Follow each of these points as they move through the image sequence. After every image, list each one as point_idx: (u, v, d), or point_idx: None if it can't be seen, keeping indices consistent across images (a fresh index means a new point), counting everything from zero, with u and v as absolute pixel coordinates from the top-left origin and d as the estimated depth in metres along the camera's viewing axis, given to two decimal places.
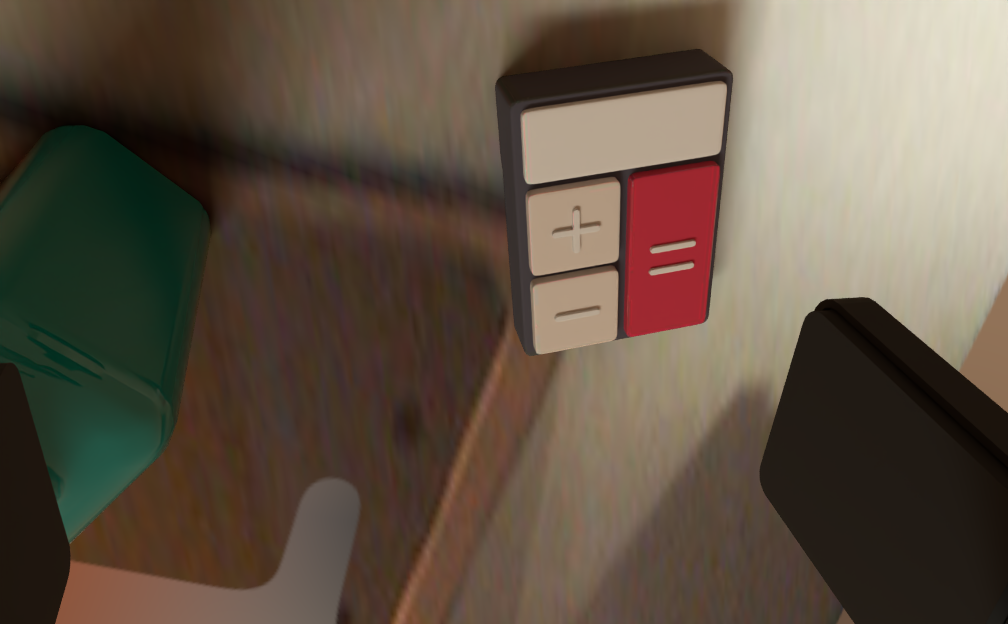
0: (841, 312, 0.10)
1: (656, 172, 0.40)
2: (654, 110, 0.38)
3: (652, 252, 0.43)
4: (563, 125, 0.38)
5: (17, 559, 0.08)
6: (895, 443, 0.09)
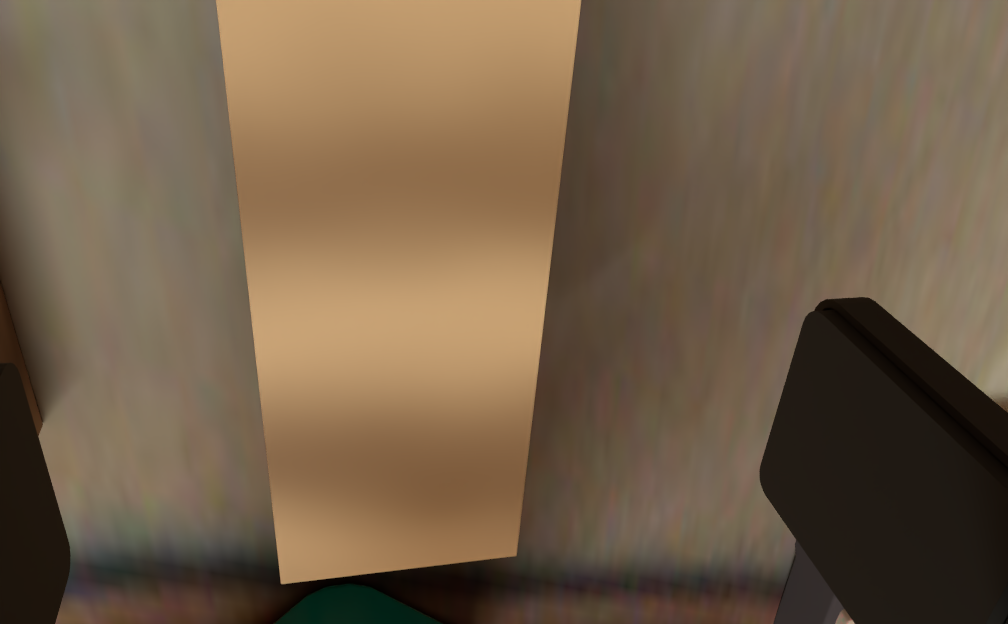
0: (841, 312, 0.10)
1: None
2: None
3: None
4: None
5: (17, 559, 0.08)
6: (895, 443, 0.09)
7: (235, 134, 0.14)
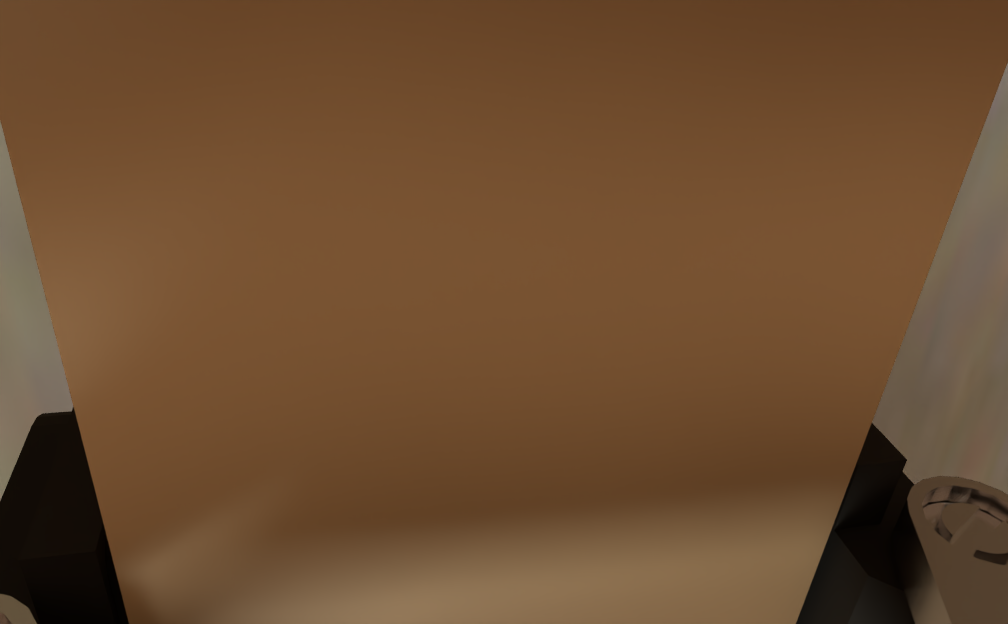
0: None
1: None
2: None
3: None
4: None
5: None
6: None
7: None
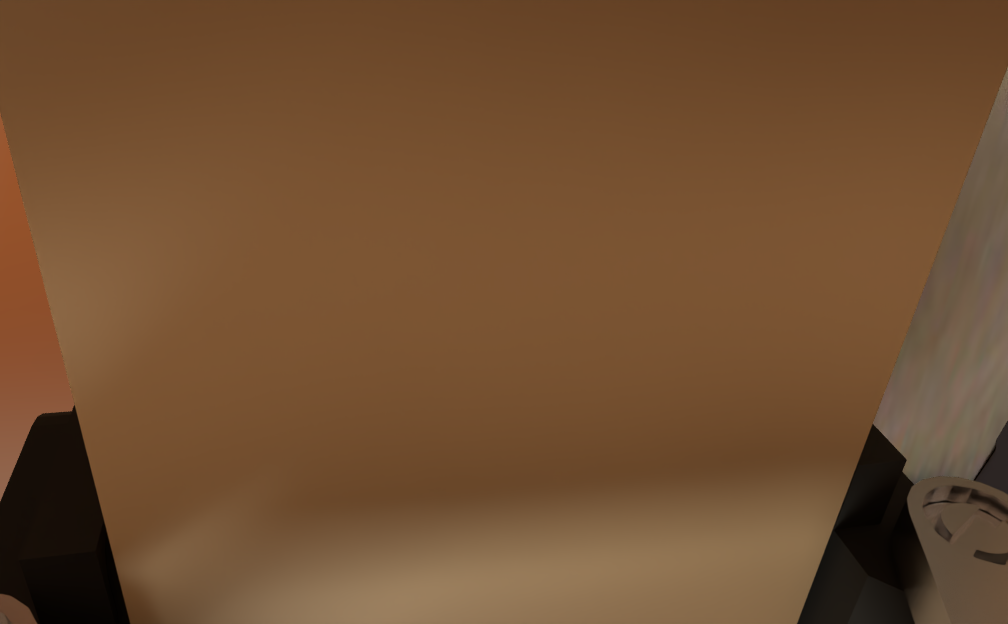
0: None
1: None
2: None
3: None
4: None
5: None
6: None
7: None
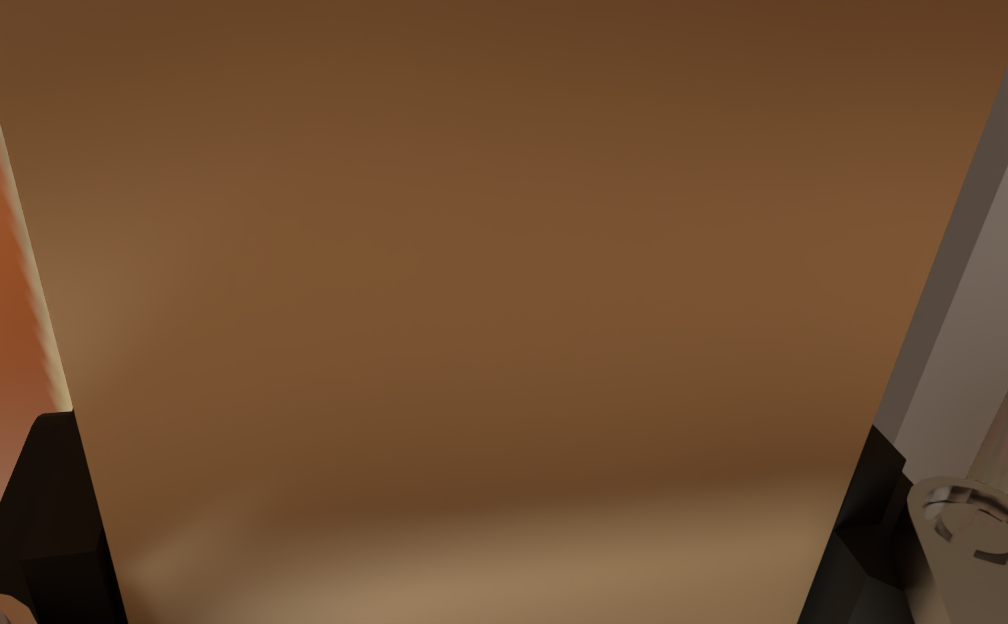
0: None
1: None
2: None
3: None
4: None
5: None
6: None
7: None
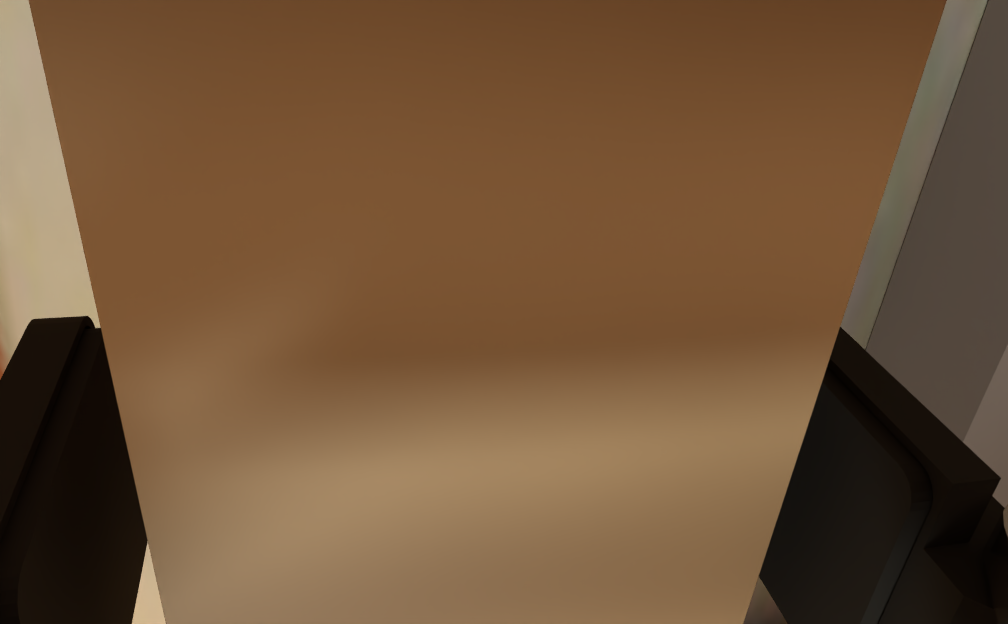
0: None
1: None
2: None
3: None
4: None
5: (116, 509, 0.09)
6: None
7: (163, 571, 0.07)
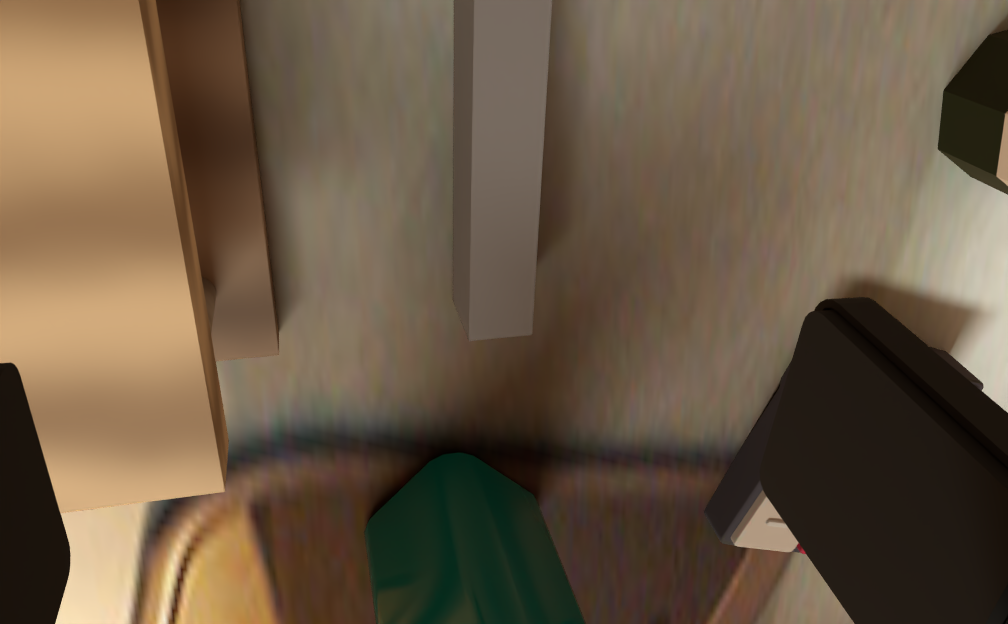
0: (841, 312, 0.10)
1: None
2: None
3: None
4: None
5: (17, 559, 0.08)
6: (895, 443, 0.09)
7: None
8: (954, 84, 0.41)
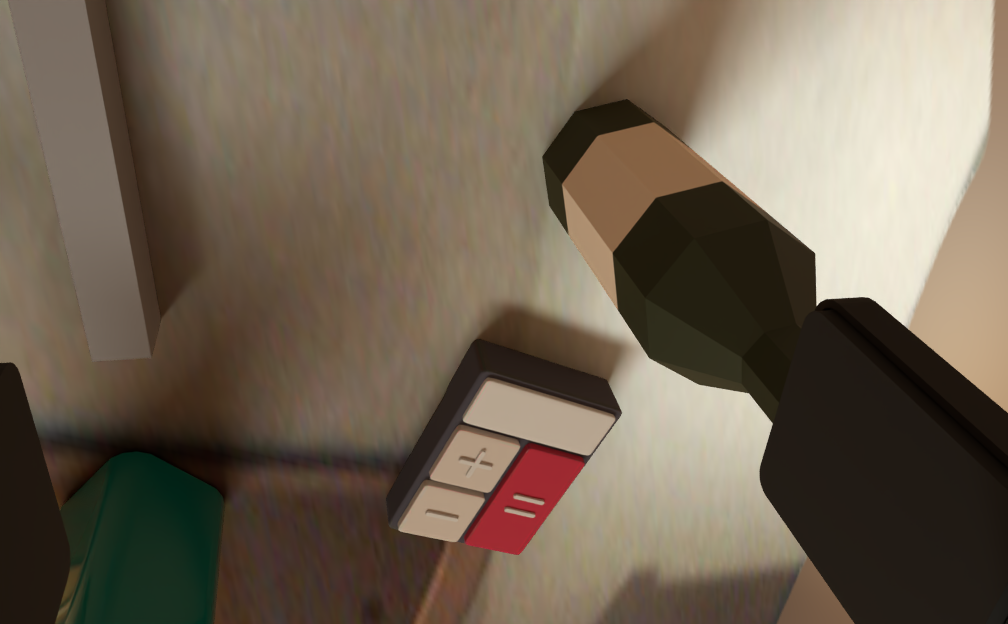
0: (841, 312, 0.10)
1: (545, 450, 0.56)
2: (566, 414, 0.54)
3: (514, 497, 0.57)
4: (508, 398, 0.52)
5: (17, 559, 0.08)
6: (895, 443, 0.09)
7: None
8: (548, 152, 0.48)
